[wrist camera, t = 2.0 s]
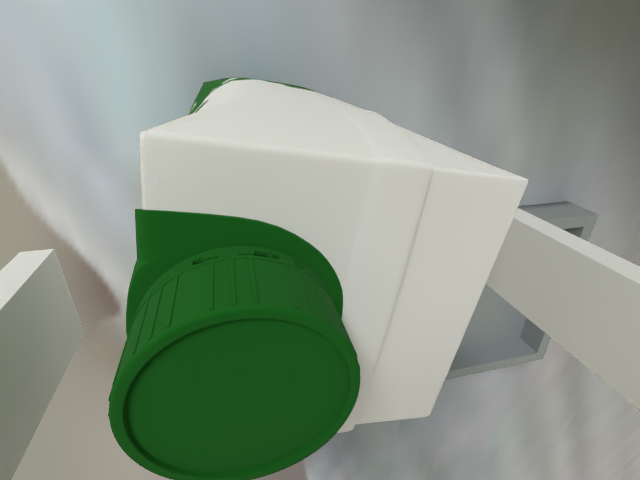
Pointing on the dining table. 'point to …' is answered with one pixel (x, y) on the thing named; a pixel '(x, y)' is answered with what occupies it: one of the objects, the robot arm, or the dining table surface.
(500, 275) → the robot arm
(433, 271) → the soya milk
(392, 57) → the dining table surface
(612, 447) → the dining table surface
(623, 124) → the dining table surface
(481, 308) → the tray
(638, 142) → the dining table surface
